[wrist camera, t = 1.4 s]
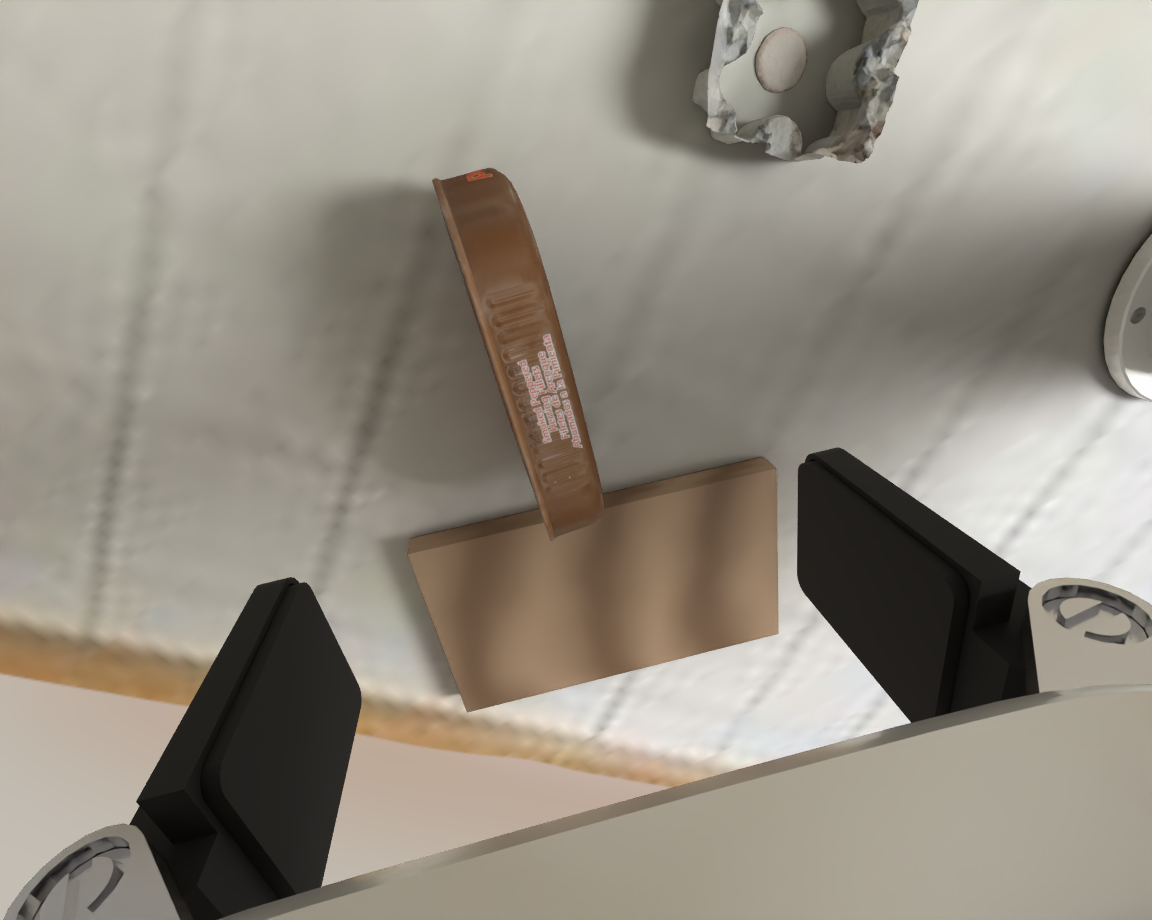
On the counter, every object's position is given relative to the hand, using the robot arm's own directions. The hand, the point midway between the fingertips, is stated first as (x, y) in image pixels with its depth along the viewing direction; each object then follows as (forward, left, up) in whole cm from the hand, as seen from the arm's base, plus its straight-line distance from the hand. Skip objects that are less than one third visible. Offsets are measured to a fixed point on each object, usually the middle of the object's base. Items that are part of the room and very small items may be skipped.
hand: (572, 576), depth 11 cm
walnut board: (-2, +15, -18) cm, 24 cm away
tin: (0, 0, -18) cm, 18 cm away
